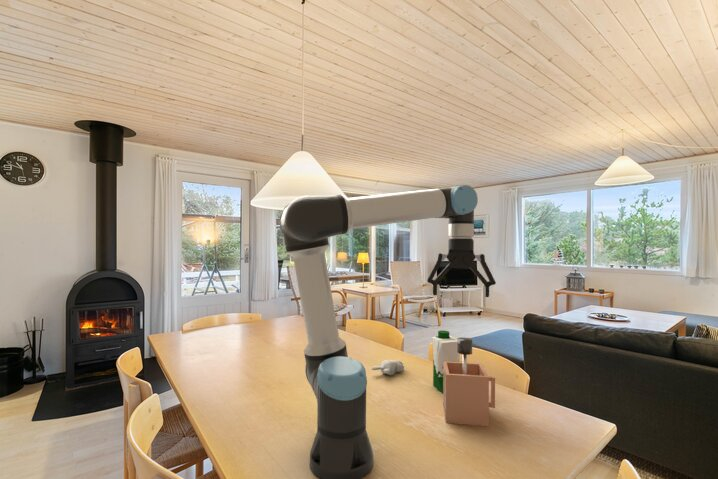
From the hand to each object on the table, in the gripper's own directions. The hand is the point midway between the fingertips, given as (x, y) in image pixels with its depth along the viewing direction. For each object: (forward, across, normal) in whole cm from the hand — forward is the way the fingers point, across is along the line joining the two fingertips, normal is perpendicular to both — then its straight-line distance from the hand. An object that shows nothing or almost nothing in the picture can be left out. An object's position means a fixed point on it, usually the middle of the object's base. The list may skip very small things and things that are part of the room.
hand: (460, 306), depth 111 cm
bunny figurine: (+33, +24, -30) cm, 51 cm away
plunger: (+32, -1, 0) cm, 32 cm away
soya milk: (+33, +3, -19) cm, 38 cm away
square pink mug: (+33, -3, 0) cm, 33 cm away
